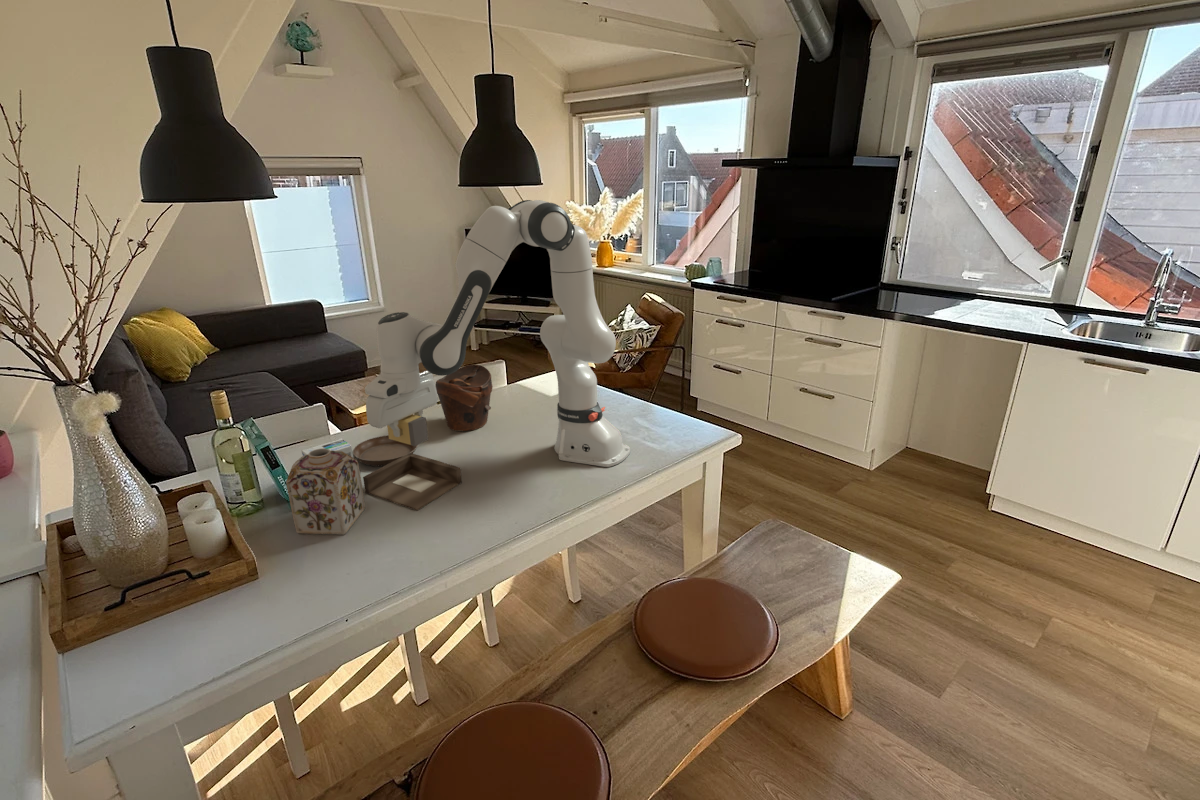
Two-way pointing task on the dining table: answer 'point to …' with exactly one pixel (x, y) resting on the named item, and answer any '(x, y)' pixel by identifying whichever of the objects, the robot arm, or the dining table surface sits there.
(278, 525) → the dining table surface
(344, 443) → the light bulb box
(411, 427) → the ochre block
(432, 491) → the corner arena
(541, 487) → the dining table surface
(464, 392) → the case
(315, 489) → the decorative jar
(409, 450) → the plant saucer
